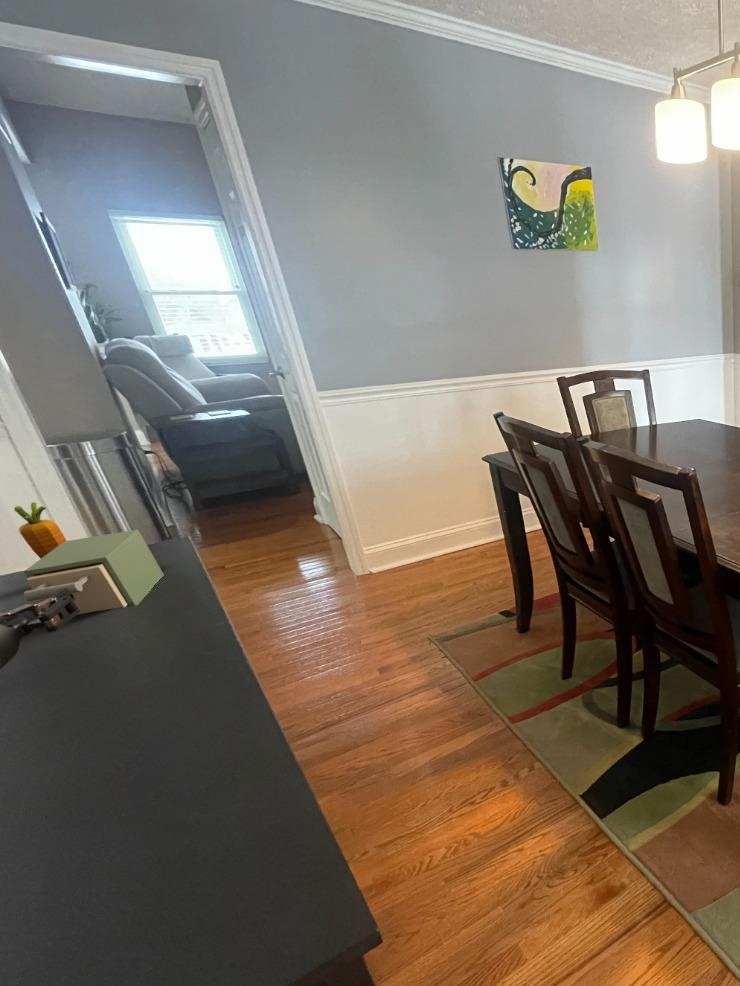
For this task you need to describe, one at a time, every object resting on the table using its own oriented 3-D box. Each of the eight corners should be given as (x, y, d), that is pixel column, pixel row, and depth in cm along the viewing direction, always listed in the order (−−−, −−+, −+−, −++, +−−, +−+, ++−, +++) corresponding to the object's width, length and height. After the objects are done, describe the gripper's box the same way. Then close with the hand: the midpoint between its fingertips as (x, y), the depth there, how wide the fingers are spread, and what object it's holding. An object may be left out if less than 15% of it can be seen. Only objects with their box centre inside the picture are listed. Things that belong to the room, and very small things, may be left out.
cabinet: (136, 606, 102) (105, 557, 97) (58, 622, 98) (22, 571, 94) (164, 575, 112) (138, 529, 107) (95, 588, 108) (64, 541, 104)
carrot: (76, 570, 116) (29, 498, 109) (95, 571, 115) (49, 499, 108) (44, 582, 111) (-7, 508, 104) (64, 584, 110) (14, 509, 103)
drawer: (111, 622, 96) (84, 579, 92) (38, 637, 93) (6, 594, 89) (152, 578, 109) (129, 540, 105) (89, 590, 106) (63, 551, 102)
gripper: (12, 620, 74) (78, 567, 87) (-152, 652, 69) (-56, 590, 82) (48, 668, 78) (106, 610, 91) (-106, 702, 73) (-21, 635, 86)
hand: (29, 600), depth 87 cm, fingers open, 8 cm apart
